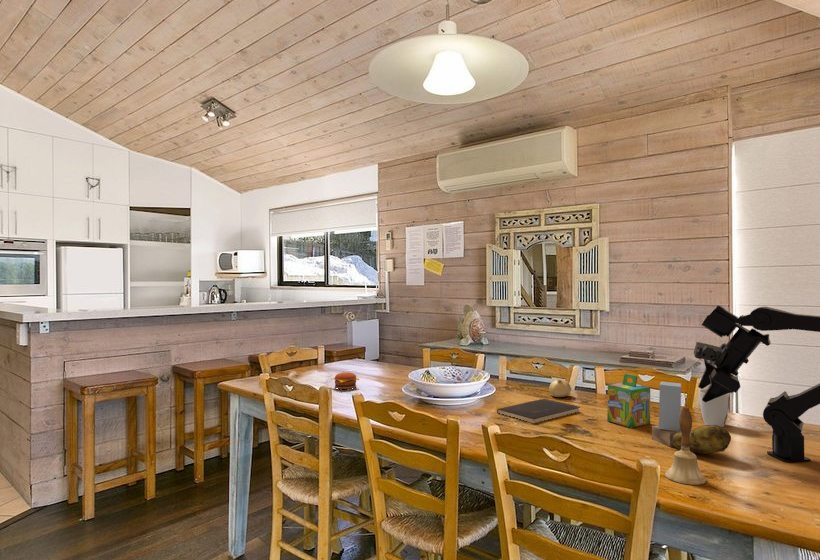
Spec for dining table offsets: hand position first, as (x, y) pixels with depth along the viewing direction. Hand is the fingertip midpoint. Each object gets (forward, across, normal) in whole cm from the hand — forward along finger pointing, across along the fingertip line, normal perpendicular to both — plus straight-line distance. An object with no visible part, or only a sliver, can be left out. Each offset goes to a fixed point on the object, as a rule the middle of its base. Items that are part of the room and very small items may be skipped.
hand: (701, 394), depth 141 cm
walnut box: (+15, +4, +1) cm, 16 cm away
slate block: (+12, +3, -2) cm, 12 cm away
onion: (+41, -41, -25) cm, 63 cm away
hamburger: (+85, -28, -99) cm, 133 cm away
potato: (+10, +12, +5) cm, 17 cm away
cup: (+12, -18, +14) cm, 25 cm away
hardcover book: (+39, -15, -30) cm, 52 cm away
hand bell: (+10, +30, -1) cm, 32 cm away
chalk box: (+23, -12, -7) cm, 27 cm away
